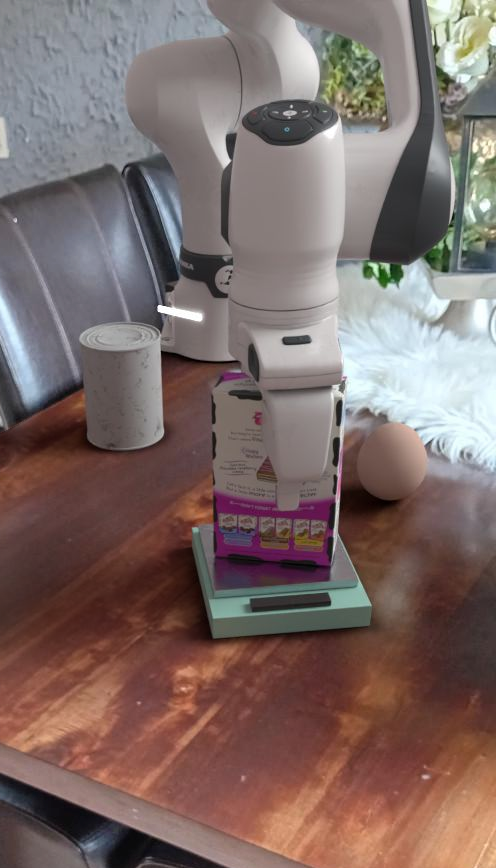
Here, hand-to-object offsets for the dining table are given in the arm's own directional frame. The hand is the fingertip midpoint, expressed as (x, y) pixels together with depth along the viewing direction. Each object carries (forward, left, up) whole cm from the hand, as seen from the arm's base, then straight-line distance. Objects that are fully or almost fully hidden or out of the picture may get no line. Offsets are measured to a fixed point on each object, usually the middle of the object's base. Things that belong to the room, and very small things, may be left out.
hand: (276, 481), depth 90 cm
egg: (-14, +15, -10) cm, 23 cm away
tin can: (-35, -12, -10) cm, 38 cm away
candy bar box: (0, 0, -7) cm, 7 cm away
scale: (+1, 0, -10) cm, 10 cm away
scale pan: (0, 0, -8) cm, 8 cm away
